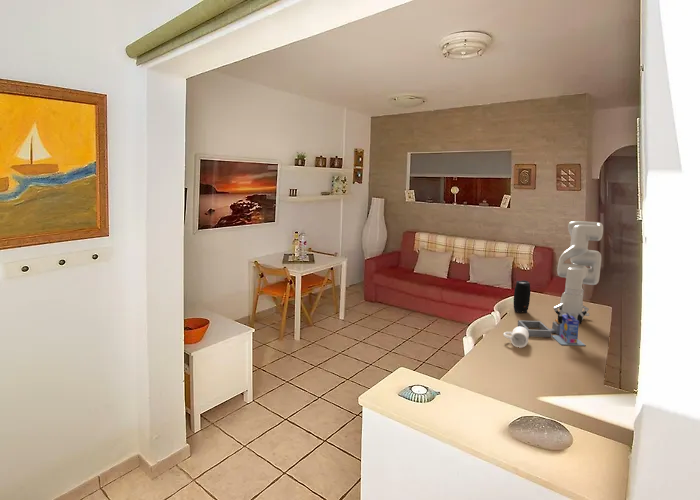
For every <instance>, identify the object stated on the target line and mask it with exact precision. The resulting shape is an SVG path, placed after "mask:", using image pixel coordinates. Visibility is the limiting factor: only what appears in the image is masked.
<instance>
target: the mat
mask: <svg viewBox="0 0 700 500" xmlns="http://www.w3.org/2000/svg"><path fill="white" fill-rule="evenodd" d="M551 338H552V339H554V340H555V341H556V342H557V343H558V344H559V346H560V345H561V346H573V347H575V346H578V347H580V346H581V347H586V343H584V342H582V340H580V339H579V338H578V340H577V344H575V343H566V342H565V341H564V340H563V339H562V338H561V337H560V336H559V334H555V335H552V334H551Z"/></svg>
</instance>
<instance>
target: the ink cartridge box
mask: <svg viewBox="0 0 700 500" xmlns="http://www.w3.org/2000/svg"><path fill="white" fill-rule="evenodd" d="M566 314H567V315H562V317H563V319H562V324H560V334H558V336H560V337H561V338H562V339H563V340H564V341H565V342H566V343H575V344H577V340H578V339H579V328H580V327H579V325H580V324H579V321H578V320H577V319H576V318H574V317H573V316H572V315H569V314H568V313H566Z"/></svg>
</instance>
